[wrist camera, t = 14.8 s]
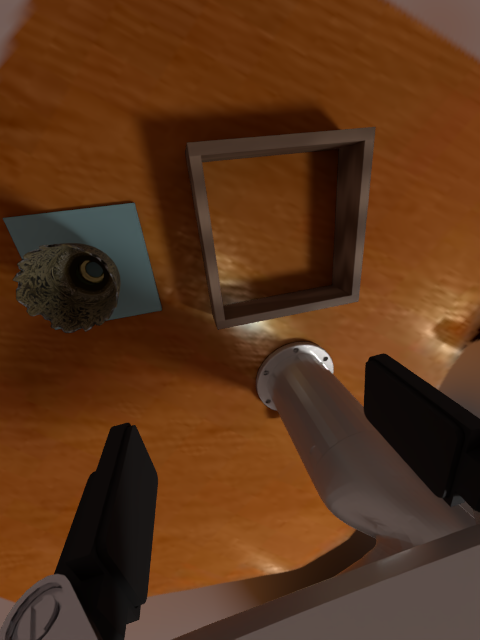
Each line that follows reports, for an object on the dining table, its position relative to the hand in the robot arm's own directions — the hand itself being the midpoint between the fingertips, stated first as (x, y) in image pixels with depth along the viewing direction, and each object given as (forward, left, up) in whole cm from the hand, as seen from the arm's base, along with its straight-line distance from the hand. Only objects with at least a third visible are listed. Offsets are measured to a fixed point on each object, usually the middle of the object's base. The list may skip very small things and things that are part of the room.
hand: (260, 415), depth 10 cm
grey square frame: (+3, -9, -24) cm, 26 cm away
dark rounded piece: (+2, +11, -23) cm, 26 cm away
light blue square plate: (+2, +12, -24) cm, 26 cm away
